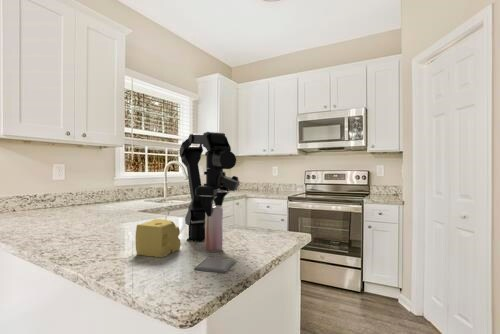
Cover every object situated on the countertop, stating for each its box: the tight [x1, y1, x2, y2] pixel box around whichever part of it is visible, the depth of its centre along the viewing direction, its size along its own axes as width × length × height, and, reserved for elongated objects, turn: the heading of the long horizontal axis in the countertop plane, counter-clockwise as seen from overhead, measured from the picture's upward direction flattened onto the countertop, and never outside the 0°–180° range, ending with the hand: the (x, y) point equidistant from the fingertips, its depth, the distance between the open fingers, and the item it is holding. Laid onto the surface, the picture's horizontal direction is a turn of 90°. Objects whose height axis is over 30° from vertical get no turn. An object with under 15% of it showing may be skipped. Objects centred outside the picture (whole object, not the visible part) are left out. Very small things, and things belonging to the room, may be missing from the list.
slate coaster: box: [194, 257, 236, 274], centre depth 80 cm, size 9×9×1 cm
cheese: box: [135, 218, 181, 258], centre depth 92 cm, size 10×11×10 cm
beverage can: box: [204, 204, 224, 253], centre depth 95 cm, size 6×6×15 cm
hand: (214, 214), depth 95 cm, fingers open, 9 cm apart
